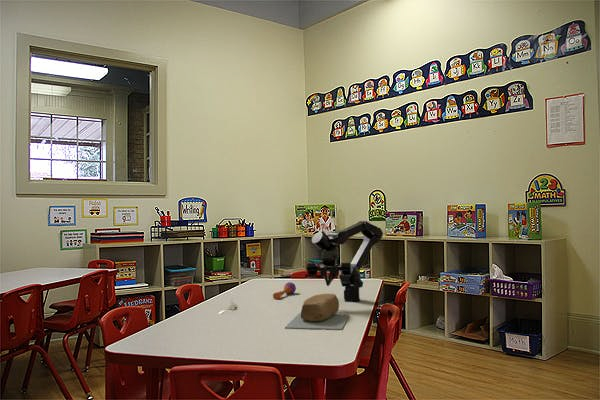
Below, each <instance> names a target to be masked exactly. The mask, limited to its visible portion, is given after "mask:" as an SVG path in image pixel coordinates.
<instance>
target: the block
mask: <svg viewBox="0 0 600 400" xmlns="http://www.w3.org/2000/svg"><path fill="white" fill-rule="evenodd" d="M339 301H340V300H339V298H337V295H336V294H334V293H322V294H321V293H320V294H315V295H312V296H311V297H308V298H307V299H305V300H304V301H303V304H302V306H301V311H300V314H301V318H302V319H303V320H304V321H312V322H321V321H323V320H326V319H328V318H329V317H331V316H333V315H334V314H338V313H337V312H339V309H340V302H339Z"/></svg>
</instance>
